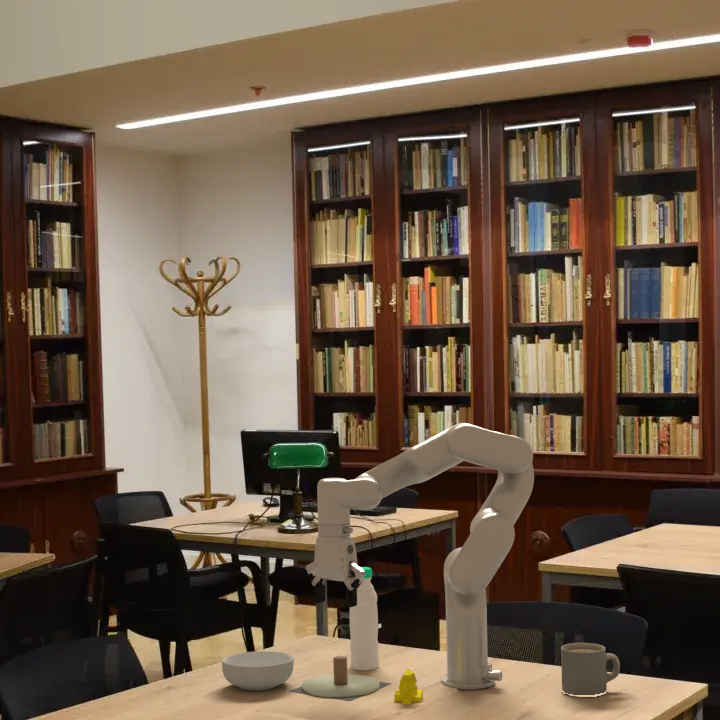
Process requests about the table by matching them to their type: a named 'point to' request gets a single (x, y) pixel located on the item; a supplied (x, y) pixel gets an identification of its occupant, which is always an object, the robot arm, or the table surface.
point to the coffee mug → (586, 668)
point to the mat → (299, 690)
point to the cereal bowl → (258, 669)
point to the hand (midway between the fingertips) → (335, 604)
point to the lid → (340, 683)
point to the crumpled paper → (408, 689)
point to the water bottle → (364, 626)
